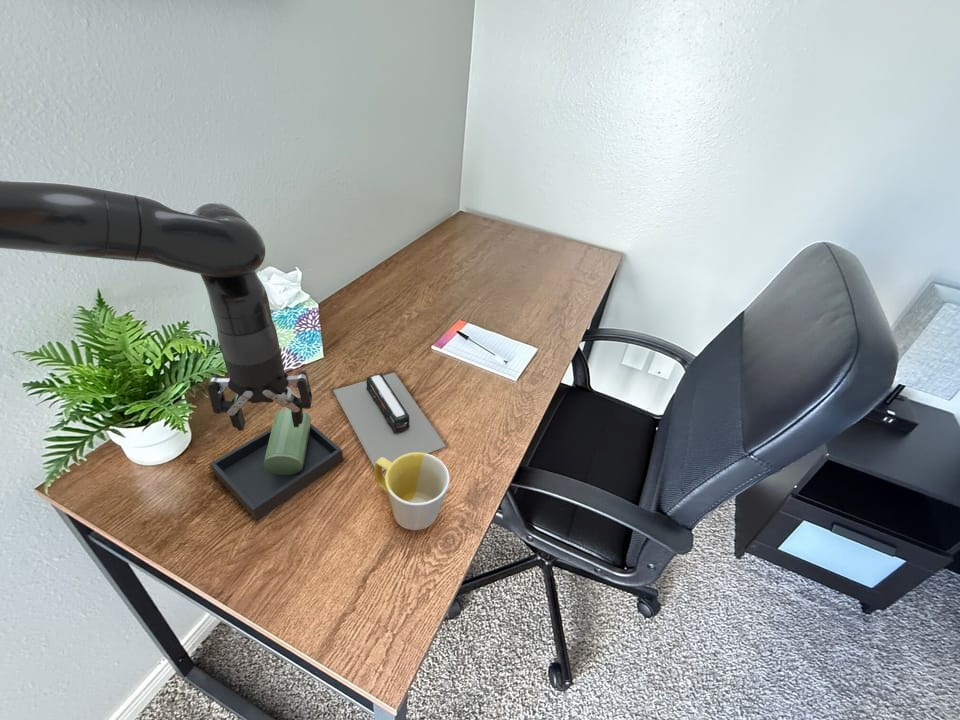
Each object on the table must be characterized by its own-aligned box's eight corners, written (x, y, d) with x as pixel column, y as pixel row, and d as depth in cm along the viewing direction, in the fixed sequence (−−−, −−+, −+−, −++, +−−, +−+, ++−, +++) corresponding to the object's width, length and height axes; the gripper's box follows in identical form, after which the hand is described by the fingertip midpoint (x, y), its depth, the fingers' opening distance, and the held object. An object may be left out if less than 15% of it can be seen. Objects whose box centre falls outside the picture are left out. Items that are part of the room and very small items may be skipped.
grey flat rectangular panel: (394, 372, 108) (394, 358, 106) (446, 446, 93) (447, 431, 90) (333, 390, 101) (331, 375, 99) (377, 473, 86) (376, 458, 83)
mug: (457, 516, 81) (463, 479, 74) (411, 554, 74) (413, 517, 68) (407, 468, 87) (408, 430, 81) (361, 499, 81) (358, 460, 75)
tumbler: (288, 452, 77) (298, 404, 84) (255, 461, 78) (267, 413, 85) (310, 469, 82) (317, 423, 89) (278, 478, 83) (288, 431, 90)
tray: (256, 521, 76) (252, 510, 74) (213, 474, 82) (209, 463, 80) (343, 460, 87) (342, 449, 85) (300, 423, 93) (298, 412, 91)
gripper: (305, 331, 71) (316, 407, 81) (203, 333, 68) (227, 411, 78) (300, 361, 66) (313, 439, 75) (188, 365, 62) (217, 445, 72)
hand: (269, 425), depth 77 cm, fingers open, 8 cm apart
